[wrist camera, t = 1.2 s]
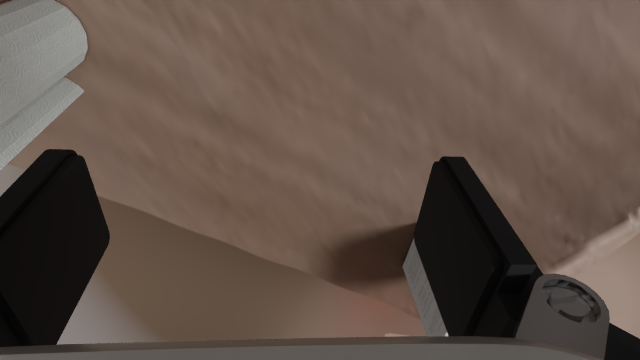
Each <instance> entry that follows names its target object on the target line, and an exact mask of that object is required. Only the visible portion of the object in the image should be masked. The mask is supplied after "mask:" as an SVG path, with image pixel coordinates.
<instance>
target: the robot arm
mask: <svg viewBox="0 0 640 360" xmlns="http://www.w3.org/2000/svg"><path fill="white" fill-rule="evenodd" d="M109 239H110V234H109V230H108V227H107V224H106V221H105V218H104V215H103V212H102V209H101V206H100V204H99V200H98V197H97V194H96V191H95V188H94V185H93V182H92V180H91V177H90V174H89V171H88V168H87V165H86V162H85V159H84V158H83V157H82V156H81V155H77V153H76V152H75V151H74V150H62V149H48V150H46V151H44V152H43V153H42V154H41V155H40V156H39V157H38V158H37V159H36V160H35V161H34V162H33V164H32V165H31V166H30V167H29V168H28V169H27V170H26V171H25V172H24V173H23V174H22V175H21V176H20V177H19V178H18V179H17V180H16V181H15V182H14V183H13V184H12V185H11V186H10V187H9V188H8V189H7V190H6V192H4V193H3V195H2V196H1V197H0V360H640V339H639V338H637V337H635V336H633V335H631V334H629V333H628V332H626V331H624V330H622V329H620V328H618V327H616V326H615V325H612V324H611V323H609V319H610V318H609V310H608V308H607V306H606V304H605V302H604V301H603V300H602V299H601V297H600V296H599V295H598V294H597V293H596V292H595V291H593V290H592V289H591V288H590V287H588V286H587V285H585V284H583V283H582V282H580V281H578V280H576V279H574V278H571V277H568V276H565V275H560V274H545V275H543V273H542V272H541V270H540V269H539V268H538V266H537V264H536V262H535V261H534V259H533V258H532V256H531V255H530V253H529V252H528V250H527V249H526V247H525V246H524V244H523V243H522V242H521V240H520V239H519V237H518V236H517V234H516V233H515V231H514V230H513V228H512V227H511V225H510V224H509V222H508V221H507V219H506V218H505V217H504V215H503V214H502V212H501V211H500V209H499V208H498V206H497V205H496V203H495V202H494V200H493V199H492V197H491V196H490V194H489V193H488V191H487V190H486V189H485V187H484V186H483V184H482V183H481V181H480V180H479V178H478V177H477V175H476V174H475V172H474V171H473V169H472V168H471V166H470V165H469V164H468V162H467V161H466V159H465V158H464V157H444V156H443V157H441V159H440V160H439V162H437V161H436V162H434V164H433V166H432V170H431V173H430V177H429V181H428V184H427V188H426V192H425V195H424V199H423V203H422V206H421V210H420V214H419V217H418V221H417V225H416V228H415V232H414V242H415V246H416V248H417V251H418V254H419V257H420V259H421V262H422V265H423V268H424V270H425V273H426V276H427V279H428V281H429V284H430V287H431V289H432V292H433V295H434V298H435V300H436V303H437V306H438V309H439V311H440V314H441V317H442V320H443V322H444V325H445V328H446V331H447V333H448V336H404V337H349V338H297V339H296V338H295V339H256V340H255V339H253V340H252V339H251V340H209V341H171V342H134V343H101V344H100V343H98V344H64V345H56V344H57V342H58V340H59V338H60V336H61V334H62V332H63V330H64V329H65V327H66V325H67V323H68V321H69V319H70V317H71V315H72V313H73V311H74V309H75V307H76V305H77V303H78V301H79V300H80V298H81V296H82V294H83V292H84V290H85V288H86V286H87V284H88V283H89V281H90V279H91V277H92V275H93V273H94V271H95V269H96V267H97V265H98V263H99V261H100V259H101V258H102V256H103V254H104V252H105V250H106V248H107V246H108V244H109Z"/></svg>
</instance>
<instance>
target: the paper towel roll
mask: <svg viewBox="0 0 640 360" xmlns="http://www.w3.org/2000/svg"><path fill="white" fill-rule="evenodd" d="M87 49H88V45H87V36H86V33H85V31H84V29H83V27H82V25H81V23H80V21H79V19H78V18H77V17H76V16H75V15H74V14H73V13H72V12H71V11H70V10H69V9H68V8H67V7H65V6H64V5H62V4H60V3H58V2H56V1H54V0H12V1H9V2H6V3H3V4H0V170H1V169H2V168H3V167H4V166H5V165H6V164H7V163H8V162H9V161H11V160H12V159H13V158H14V157H15V156H16V155H17V154H18V153H19V152H20V151H21V150H22V149H23V148H24V147H25V146H27V145H28V144H29V143H30V142H31V141H32V140H33V139H34V138H35V137H36V136H37V135H38V134H39V133H40V132H41V131H43V130H44V129H45V128H46V127H47V126H48V125H49V124H50V123H51V122H52V121H53V120H54V119H55V118H56V117H57V116H59V115H60V114H61V113H62V112H63V111H64V110H65V109H66V108H67V107H68V106H69V105H70V104H71V103H72V102H73V101H75V100H76V99H77V98H78V97H79V96H80V95H81V94H82V93H83V92H84V90H83V89H82V88H81V87H80V86H79V85H77V84H75V83H74V82H72V81H70V80H69V79H67V78H65V77H64V76H65V75H66V74H68V73H69V72H70V71H72V70H73V69H74V68H75V67H76V66H78V65H79V64H80V63H81V62H82V61H84V58H85V55H86V52H87Z"/></svg>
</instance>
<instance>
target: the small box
mask: <svg viewBox="0 0 640 360" xmlns="http://www.w3.org/2000/svg"><path fill="white" fill-rule="evenodd" d="M403 270H404V272H405V275H406V278H407V281H408V284H409V287H410V289H411V292H412V295H413V298H414V301H415V304H416V307H417V310H418V312H419V315H420V318H421V321H422V324H423V327H424V330H425V332H426V335H427V336H448V333H447V331H446V328H445V325H444V322H443V320H442V317H441V314H440V311H439V309H438V306H437V303H436V300H435V298H434V295H433V292H432V289H431V287H430V284H429V281H428V279H427V276H426V273H425V270H424V268H423V265H422V262H421V259H420V257H419V254H418V251H417V248H416V246H415V242H414V239H413V241H412V244H411V246H410V249H409V251H408V254H407V257H406V259H405V262H404V264H403Z"/></svg>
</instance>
